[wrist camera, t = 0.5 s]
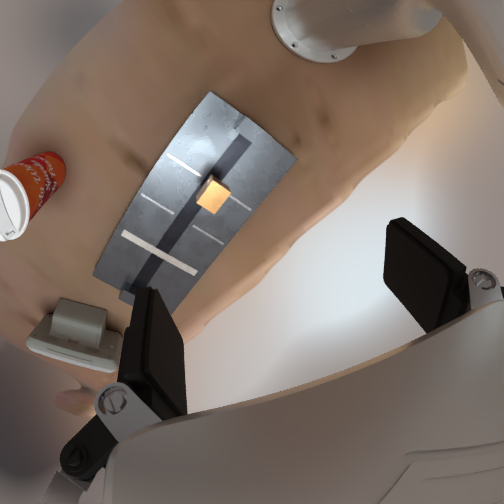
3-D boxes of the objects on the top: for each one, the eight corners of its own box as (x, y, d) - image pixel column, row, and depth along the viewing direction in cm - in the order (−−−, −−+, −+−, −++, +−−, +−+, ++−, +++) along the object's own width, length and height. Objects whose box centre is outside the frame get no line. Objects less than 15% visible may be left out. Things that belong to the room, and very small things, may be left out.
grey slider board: (208, 91, 32) (210, 90, 28) (292, 156, 38) (303, 162, 34) (95, 267, 40) (88, 283, 37) (171, 307, 47) (170, 323, 43)
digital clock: (42, 317, 43) (24, 359, 34) (47, 282, 40) (24, 326, 31) (118, 349, 50) (111, 394, 40) (131, 319, 46) (124, 367, 37)
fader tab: (210, 168, 34) (213, 180, 30) (226, 179, 35) (231, 192, 31) (195, 187, 35) (196, 202, 31) (211, 198, 36) (214, 214, 32)
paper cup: (82, 179, 34) (36, 223, 22) (44, 206, 34) (-3, 257, 22) (56, 132, 29) (-2, 156, 17) (19, 163, 30) (-39, 199, 18)
